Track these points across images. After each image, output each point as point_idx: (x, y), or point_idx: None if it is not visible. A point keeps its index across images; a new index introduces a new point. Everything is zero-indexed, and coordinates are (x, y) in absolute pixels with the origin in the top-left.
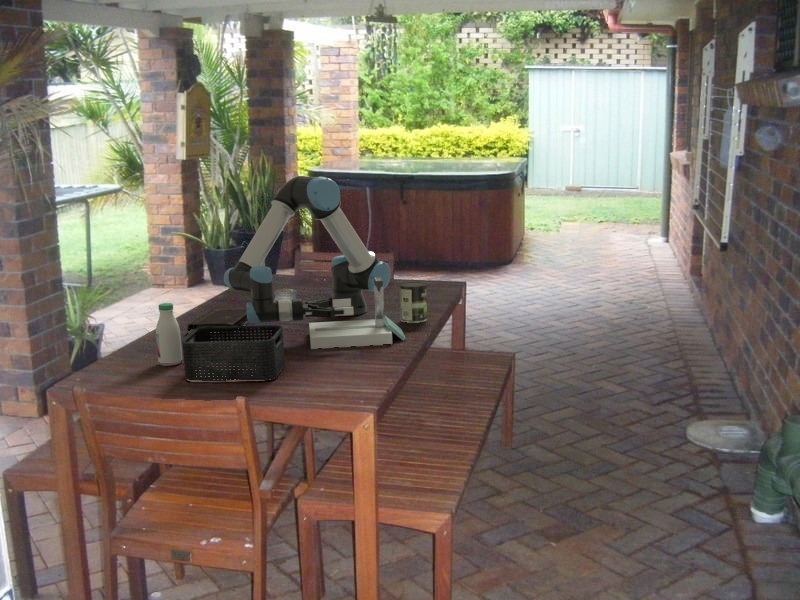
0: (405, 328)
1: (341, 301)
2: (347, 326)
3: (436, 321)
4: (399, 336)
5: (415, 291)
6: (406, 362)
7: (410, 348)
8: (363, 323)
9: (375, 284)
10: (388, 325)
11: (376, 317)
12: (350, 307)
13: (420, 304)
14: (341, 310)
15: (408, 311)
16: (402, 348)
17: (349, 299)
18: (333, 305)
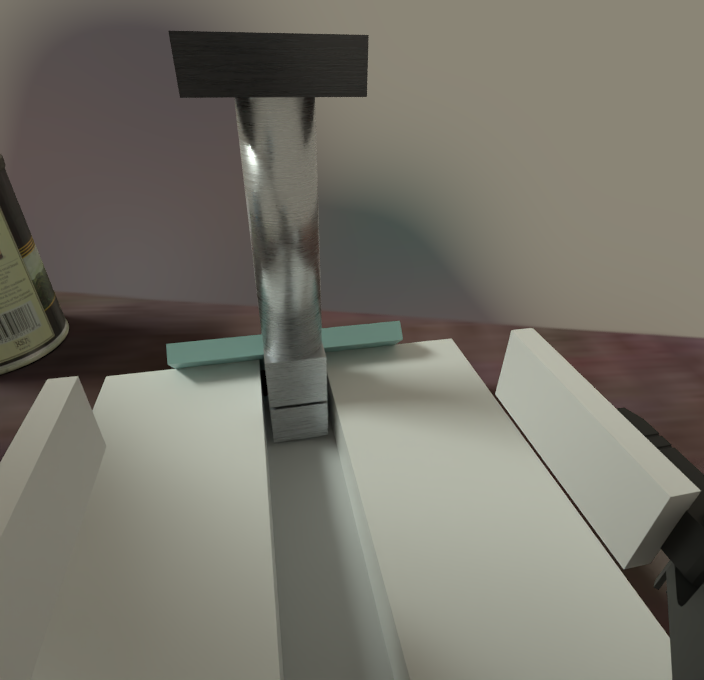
0: (147, 361)
1: (45, 495)
2: (267, 588)
3: (80, 295)
4: None
5: (5, 188)
6: (686, 337)
7: (491, 336)
8: (189, 474)
9: (306, 85)
10: (399, 327)
11: (314, 346)
12: (549, 345)
13: (36, 249)
14: (651, 426)
15: (23, 305)
16: (499, 354)
17: (75, 391)
18: (11, 676)
